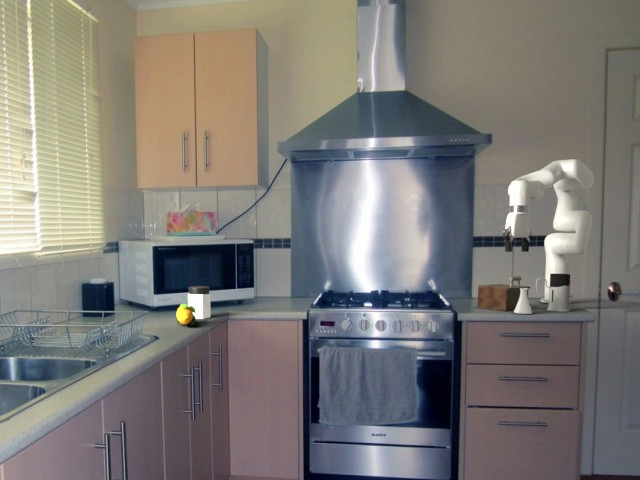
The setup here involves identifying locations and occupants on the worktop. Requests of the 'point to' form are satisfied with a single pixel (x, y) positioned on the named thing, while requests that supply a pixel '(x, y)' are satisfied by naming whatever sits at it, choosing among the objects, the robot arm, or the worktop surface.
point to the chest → (498, 299)
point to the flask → (523, 303)
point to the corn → (185, 314)
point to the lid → (504, 286)
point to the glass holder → (558, 292)
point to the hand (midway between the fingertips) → (516, 251)
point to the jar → (200, 301)
